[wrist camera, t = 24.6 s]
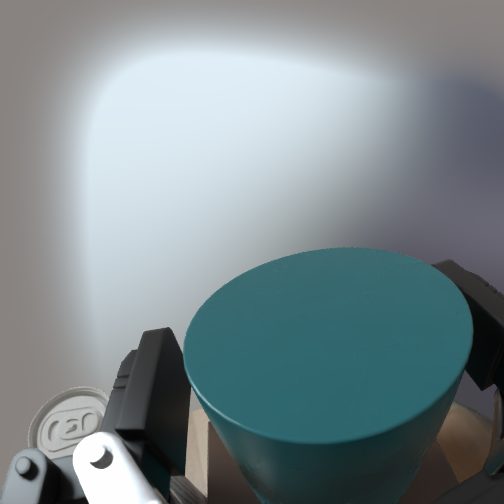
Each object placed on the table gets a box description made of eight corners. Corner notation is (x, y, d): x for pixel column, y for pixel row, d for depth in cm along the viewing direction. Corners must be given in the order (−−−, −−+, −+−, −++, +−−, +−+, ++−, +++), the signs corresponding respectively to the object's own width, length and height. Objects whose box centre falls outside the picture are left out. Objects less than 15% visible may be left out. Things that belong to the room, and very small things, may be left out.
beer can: (144, 503, 18) (30, 395, 12) (207, 485, 20) (118, 368, 14) (161, 560, 13) (16, 482, 7) (233, 541, 14) (130, 464, 8)
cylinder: (280, 560, 8) (164, 471, 3) (267, 464, 14) (194, 275, 9) (408, 525, 8) (531, 353, 3) (374, 437, 13) (390, 230, 9)
